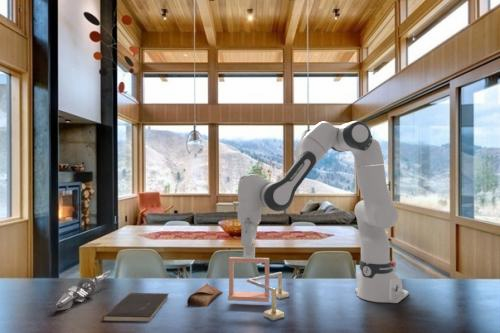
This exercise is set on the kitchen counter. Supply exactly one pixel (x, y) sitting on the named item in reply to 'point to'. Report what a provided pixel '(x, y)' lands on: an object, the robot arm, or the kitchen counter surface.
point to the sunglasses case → (203, 296)
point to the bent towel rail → (279, 294)
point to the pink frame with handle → (248, 295)
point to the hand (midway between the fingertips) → (249, 253)
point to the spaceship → (80, 291)
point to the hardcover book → (136, 307)
